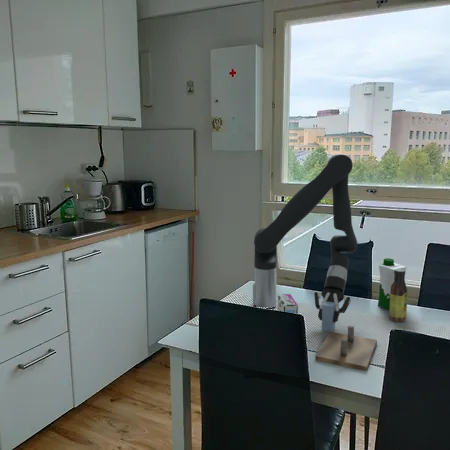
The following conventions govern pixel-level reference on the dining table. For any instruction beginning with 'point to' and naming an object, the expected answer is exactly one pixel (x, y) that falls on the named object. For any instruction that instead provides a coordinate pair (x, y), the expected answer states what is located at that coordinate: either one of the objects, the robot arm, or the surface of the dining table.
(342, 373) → the dining table surface
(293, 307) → the candy bar box
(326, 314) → the block
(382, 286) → the milk carton
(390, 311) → the sauce bottle
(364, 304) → the dining table surface
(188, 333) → the dining table surface
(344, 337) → the wooden peg board
